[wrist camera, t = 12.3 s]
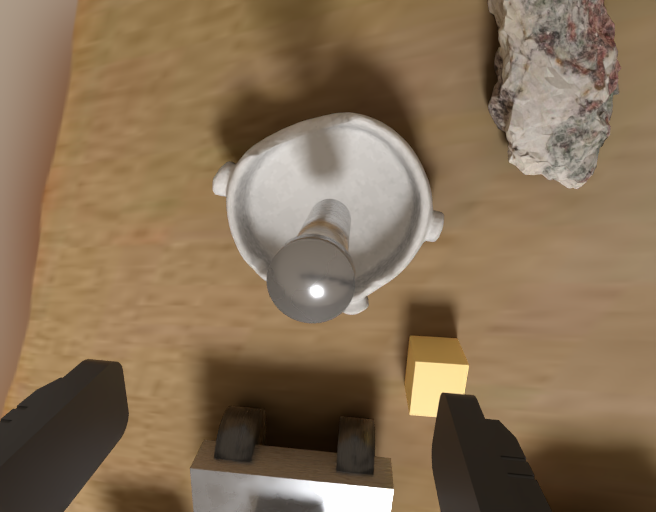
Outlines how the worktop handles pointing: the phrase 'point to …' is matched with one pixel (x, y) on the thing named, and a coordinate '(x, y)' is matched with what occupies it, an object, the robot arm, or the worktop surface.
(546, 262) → the worktop surface
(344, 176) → the dish
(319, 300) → the pin
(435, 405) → the pale yellow block
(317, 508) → the dolly
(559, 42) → the mineral rock
